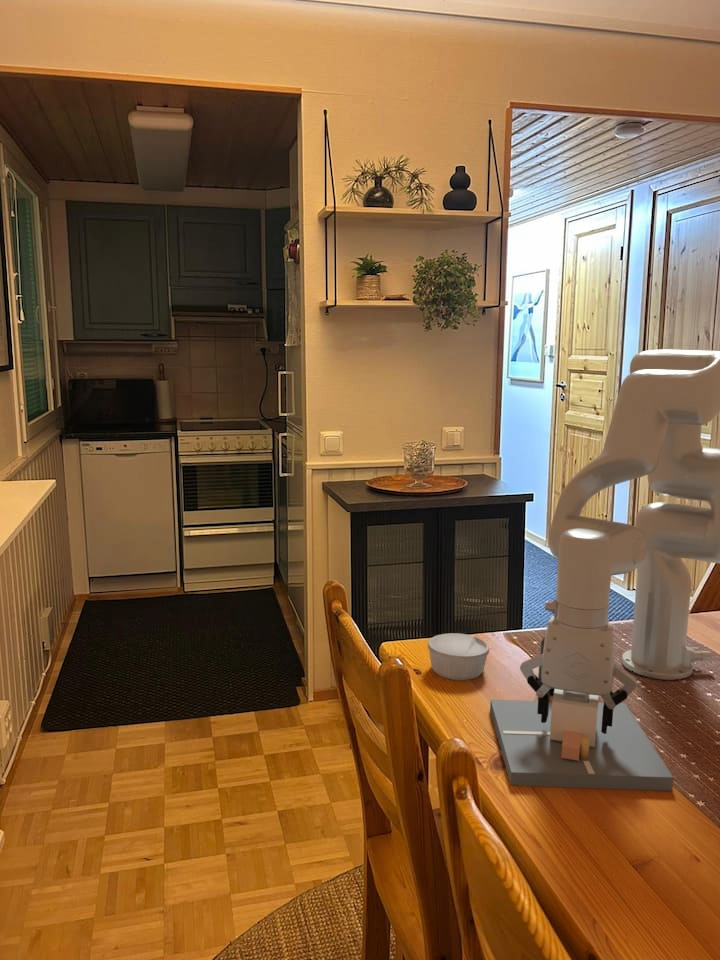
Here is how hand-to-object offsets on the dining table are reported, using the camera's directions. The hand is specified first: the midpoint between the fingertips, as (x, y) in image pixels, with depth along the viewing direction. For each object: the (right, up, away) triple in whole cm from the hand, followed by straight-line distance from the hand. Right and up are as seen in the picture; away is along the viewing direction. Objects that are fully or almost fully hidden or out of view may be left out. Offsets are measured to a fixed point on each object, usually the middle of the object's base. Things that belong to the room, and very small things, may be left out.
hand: (574, 723), depth 116 cm
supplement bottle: (+3, -1, +20) cm, 20 cm away
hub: (-1, -2, -2) cm, 3 cm away
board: (0, -4, +1) cm, 4 cm away
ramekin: (-14, +1, +28) cm, 31 cm away
